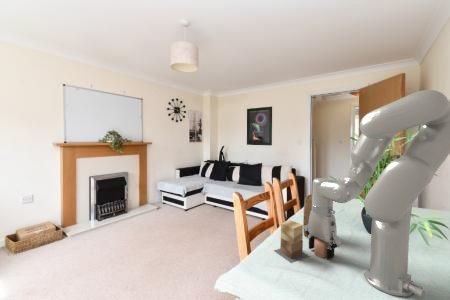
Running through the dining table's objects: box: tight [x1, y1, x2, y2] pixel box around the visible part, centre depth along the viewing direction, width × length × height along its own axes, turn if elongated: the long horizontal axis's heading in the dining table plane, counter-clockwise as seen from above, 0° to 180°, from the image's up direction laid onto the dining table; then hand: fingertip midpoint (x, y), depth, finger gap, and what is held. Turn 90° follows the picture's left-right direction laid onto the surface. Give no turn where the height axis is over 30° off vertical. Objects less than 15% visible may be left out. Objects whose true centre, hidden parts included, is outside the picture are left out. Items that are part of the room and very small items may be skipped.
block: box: [302, 193, 317, 239], centre depth 102 cm, size 11×8×20 cm
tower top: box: [280, 219, 304, 244], centre depth 85 cm, size 6×6×6 cm
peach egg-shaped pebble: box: [313, 238, 328, 259], centre depth 85 cm, size 5×5×6 cm
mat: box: [273, 247, 311, 264], centre depth 86 cm, size 10×10×1 cm
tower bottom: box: [279, 237, 304, 259], centre depth 86 cm, size 6×6×6 cm
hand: (320, 252), depth 85 cm, fingers open, 7 cm apart
